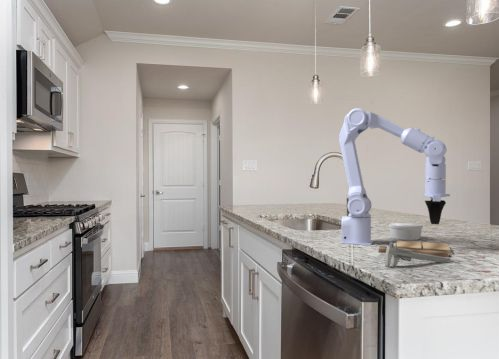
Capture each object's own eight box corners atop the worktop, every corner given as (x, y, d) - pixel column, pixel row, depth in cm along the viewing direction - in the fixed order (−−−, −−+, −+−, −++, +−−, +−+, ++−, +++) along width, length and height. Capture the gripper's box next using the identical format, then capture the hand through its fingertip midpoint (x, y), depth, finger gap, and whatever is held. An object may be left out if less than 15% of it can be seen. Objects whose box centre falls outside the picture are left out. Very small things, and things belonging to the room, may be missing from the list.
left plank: (395, 250, 113) (395, 246, 113) (396, 244, 123) (396, 240, 123) (421, 252, 111) (421, 248, 111) (420, 245, 121) (420, 242, 121)
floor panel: (378, 252, 110) (378, 248, 110) (379, 250, 114) (379, 246, 114) (448, 258, 104) (448, 253, 104) (447, 255, 107) (447, 250, 107)
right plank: (423, 252, 110) (423, 248, 110) (422, 245, 121) (422, 242, 121) (450, 254, 108) (450, 249, 108) (446, 247, 118) (446, 243, 118)
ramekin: (381, 237, 139) (381, 223, 139) (403, 235, 144) (403, 221, 144) (406, 242, 129) (407, 226, 129) (429, 240, 134) (429, 225, 134)
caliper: (387, 269, 92) (388, 243, 92) (384, 268, 93) (385, 242, 93) (454, 263, 98) (454, 239, 98) (450, 262, 99) (450, 238, 99)
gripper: (452, 179, 109) (452, 227, 109) (447, 179, 122) (447, 221, 122) (425, 179, 111) (424, 226, 111) (423, 179, 125) (422, 220, 125)
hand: (434, 223), depth 117 cm, fingers closed
